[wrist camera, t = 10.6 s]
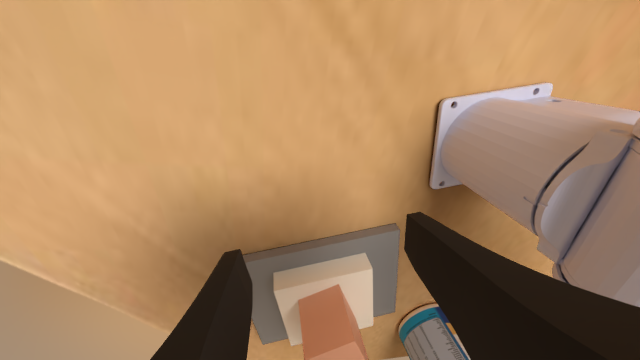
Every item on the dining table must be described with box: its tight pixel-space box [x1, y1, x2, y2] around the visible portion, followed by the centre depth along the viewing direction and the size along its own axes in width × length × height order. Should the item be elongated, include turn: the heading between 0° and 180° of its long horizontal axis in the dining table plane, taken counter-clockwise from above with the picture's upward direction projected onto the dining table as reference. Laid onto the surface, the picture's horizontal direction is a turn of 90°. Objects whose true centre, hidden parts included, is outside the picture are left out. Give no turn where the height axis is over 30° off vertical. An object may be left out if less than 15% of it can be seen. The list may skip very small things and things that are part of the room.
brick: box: [298, 284, 369, 360], centre depth 21 cm, size 4×6×5 cm, turn 20°
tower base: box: [242, 223, 400, 346], centre depth 25 cm, size 16×13×3 cm
